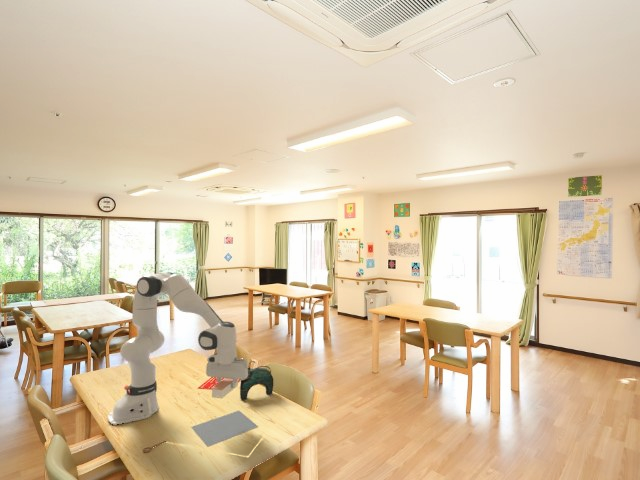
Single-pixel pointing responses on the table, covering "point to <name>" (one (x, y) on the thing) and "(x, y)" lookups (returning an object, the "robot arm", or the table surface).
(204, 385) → the maze puzzle
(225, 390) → the block
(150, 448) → the key
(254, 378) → the ceramic cat
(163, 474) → the table surface
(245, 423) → the mat
